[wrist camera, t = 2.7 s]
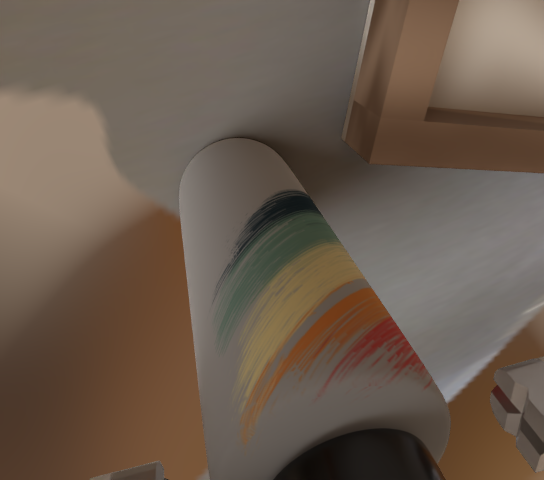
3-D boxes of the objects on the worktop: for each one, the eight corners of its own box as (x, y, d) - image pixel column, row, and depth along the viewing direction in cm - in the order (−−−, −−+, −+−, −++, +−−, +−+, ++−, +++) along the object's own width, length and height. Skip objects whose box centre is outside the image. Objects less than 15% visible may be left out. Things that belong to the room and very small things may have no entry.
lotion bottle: (244, 257, 25) (431, 850, 8) (154, 204, 22) (157, 925, 6) (312, 177, 23) (714, 706, 7) (225, 110, 21) (530, 712, 4)
